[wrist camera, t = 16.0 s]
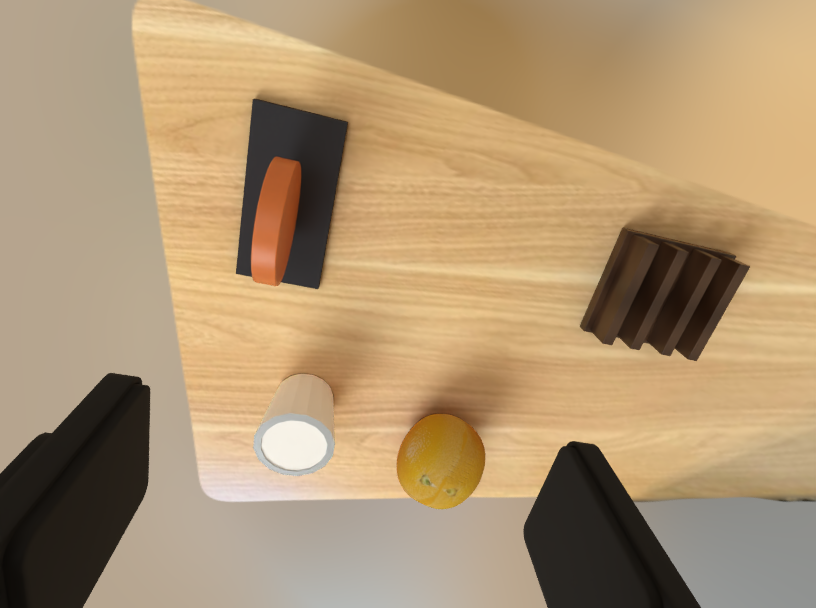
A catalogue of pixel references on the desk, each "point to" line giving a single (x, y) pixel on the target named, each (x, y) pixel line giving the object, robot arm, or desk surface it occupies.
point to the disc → (275, 221)
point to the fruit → (440, 461)
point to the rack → (662, 294)
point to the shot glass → (297, 427)
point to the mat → (320, 163)
